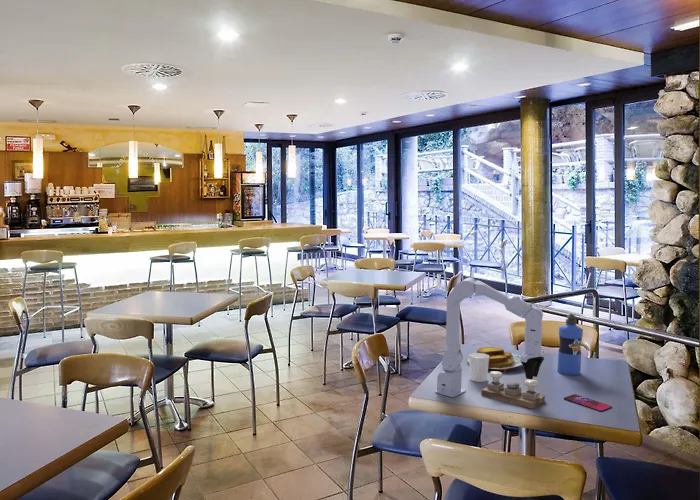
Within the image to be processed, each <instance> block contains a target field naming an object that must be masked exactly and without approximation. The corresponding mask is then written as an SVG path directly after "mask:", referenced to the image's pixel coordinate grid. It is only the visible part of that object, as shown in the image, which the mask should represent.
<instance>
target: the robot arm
mask: <svg viewBox="0 0 700 500" xmlns="http://www.w3.org/2000/svg"><path fill="white" fill-rule="evenodd" d="M473 295H474V297H478V296H479V297H480V296H485V297H487V298H489V299H491V300H493V301H496V302H498V303H500V304H502V305H503V306H504V307H505V309H506V311H508V312H509V313H511V314H513V315H516V317H519V318H521V319H524V320H525V327H524V346H523V347H524V348H523V349H524V351H523V353H522V355H520V356H521V363H522V365H523V367H522V368H523V370H524V374H525V378H526V380H534V379H533V378H537V377H538V375H539V371H540V368H541V365H542V363H543V362H544V360H545V357H544V356H545V353H544V352H545V349H544V348H542V339H543V336H542V335H543V328H542V327H543V322H542V321H543V317H544V312H543V310H542V309H541V308H540V307H539V306H538V305H534V304H532V303H531V302H530V303H528V302H526V301H525V300H524V299H521V296H519V295H517V296H515V295H512V296H508V295H506V294H504V293H502V292H500V291H499V290H497V289H496V288H493V286H490V285H489V284H487V283H485V282H483V281H481V280H478V279H475V278H474V277H470V276H469V277H466V278H464V279H463V280H461V281H460V282H458V283H457V284H455V285H454V287H453V288H452V290H451V291H450V292H449V294H448V296H447V297H446V320H445V322H446V323H445V325H446V326H445V329H446V330H445V333H446V334H445V339H446V340H445V342H446V343H445V348H444V351H443V352H444V353H443V357H442V358H441V365H442V370H440V371H441V372H440V373H438V374H437V378H436V379H437V380H436V381H437V382H436V390H435V391H434V393H436V394H440V395H443V396H446V397H450V398H455V397H456V396H459V395H462V394H463V393H464V392H467V390H466V389H464V388H462V377H463V375H462V372H463V371H462V370H463V367H462V366H461V363H462V362H463V359H464V355H463V353H462V350H461V344H460V336H461V335H460V331H461V330H460V328H461V327H460V325H461V324H460V323H461V302H463V301H465V299H467V298H470V297H472V296H473ZM522 365H521V366H522Z"/></svg>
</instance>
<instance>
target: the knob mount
mask: <svg viewBox="0 0 700 500" xmlns="http://www.w3.org/2000/svg"><path fill="white" fill-rule="evenodd" d="M481 395H482V396H485V397H488V398H492V399H495V398H496V400H499V401H502V400H503V401H502V402H507V403H511V404H513V405H517V406H521V407H525V408H529V409H534V408H536V407H537V406H539V405H541V404H542V403H544V402H545V399H546V396H545V395H543V394H540V392H539V391H537V390H535V391H528V388H527V389H526V390H522V387H520V383H518V382H516V381H508V382H506V385H505V383H504V382H501V381H499V382H493V380H491V381H489V382H487V386H486V387H484V388H482V389H481Z"/></svg>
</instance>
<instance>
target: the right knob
mask: <svg viewBox="0 0 700 500" xmlns="http://www.w3.org/2000/svg"><path fill="white" fill-rule="evenodd" d="M524 385H525V386H527V389H528V391H536V390H535V389H536V387H539V382H538V381H537V380H536V379H532V380H531V379H525V380H524Z"/></svg>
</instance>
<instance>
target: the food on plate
mask: <svg viewBox="0 0 700 500" xmlns="http://www.w3.org/2000/svg"><path fill="white" fill-rule="evenodd" d="M476 353H484V354H487V355H489V365H488V370H499V371H501V370H504V371H503V373H507V370H509V369H515V368H517V367H520V366H521V367H522V368H524V367H523V365H522V363H521V356H522V355H519V354H515V353H512V352H507V351H505V350H504V349H503V348H499V347H495V346H485V347H479V348H478V349H477V351H476ZM466 361H467V363H468V364H469V357H468V358H466Z"/></svg>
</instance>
